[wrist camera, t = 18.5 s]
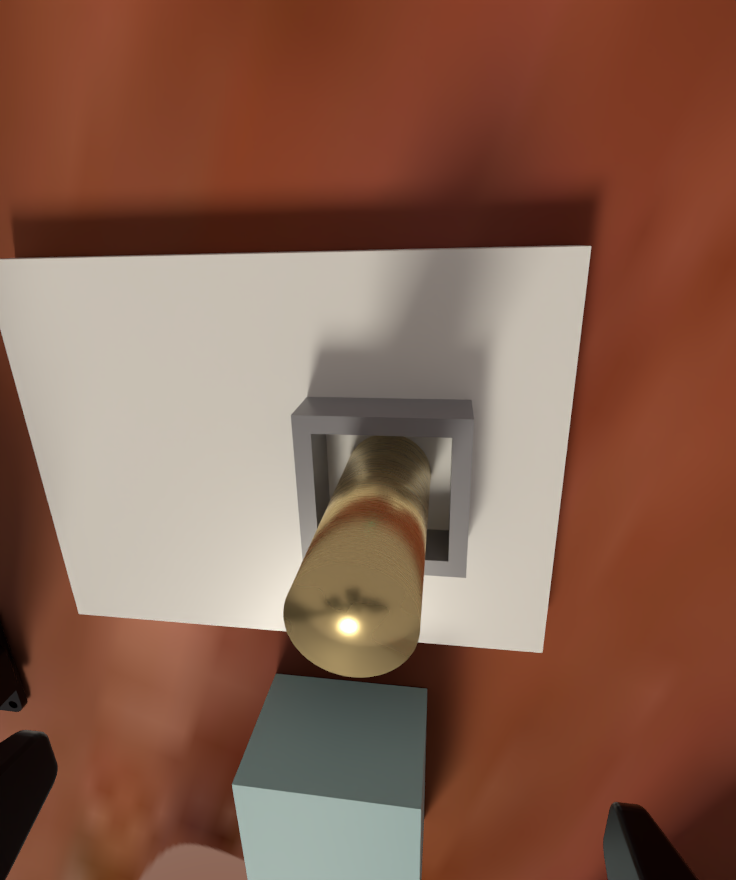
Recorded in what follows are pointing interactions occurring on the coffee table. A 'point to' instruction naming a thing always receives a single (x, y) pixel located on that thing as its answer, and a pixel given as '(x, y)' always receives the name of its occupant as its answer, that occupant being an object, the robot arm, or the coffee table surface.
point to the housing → (334, 782)
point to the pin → (365, 564)
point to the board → (297, 420)
